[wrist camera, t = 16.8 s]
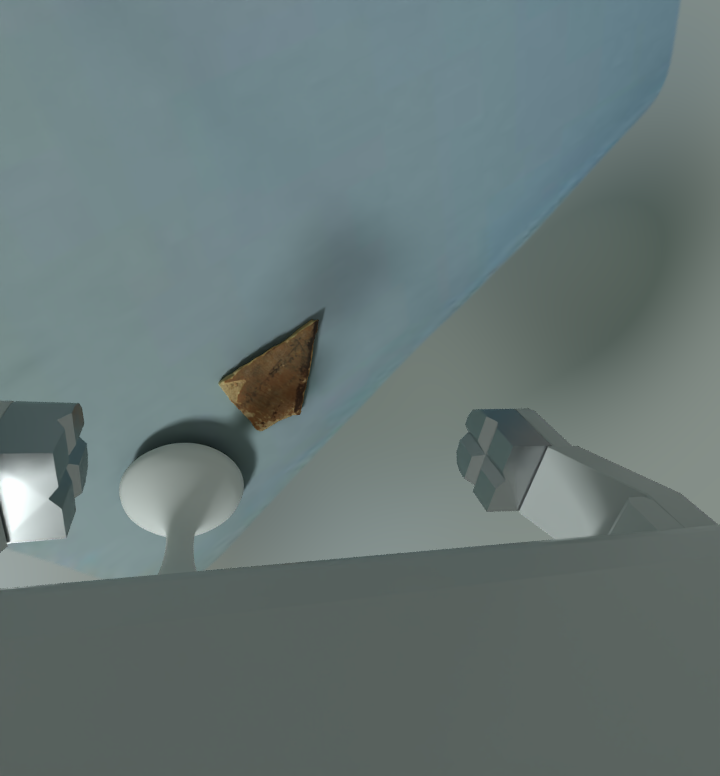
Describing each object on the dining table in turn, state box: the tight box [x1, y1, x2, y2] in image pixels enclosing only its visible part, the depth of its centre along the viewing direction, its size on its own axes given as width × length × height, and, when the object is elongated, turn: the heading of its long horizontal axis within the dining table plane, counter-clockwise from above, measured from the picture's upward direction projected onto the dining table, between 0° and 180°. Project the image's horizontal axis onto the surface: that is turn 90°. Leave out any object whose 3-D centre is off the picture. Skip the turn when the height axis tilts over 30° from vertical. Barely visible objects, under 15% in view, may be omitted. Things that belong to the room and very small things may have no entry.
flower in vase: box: [119, 443, 244, 575], centre depth 37 cm, size 13×11×25 cm
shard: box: [219, 320, 319, 431], centre depth 44 cm, size 11×8×2 cm
